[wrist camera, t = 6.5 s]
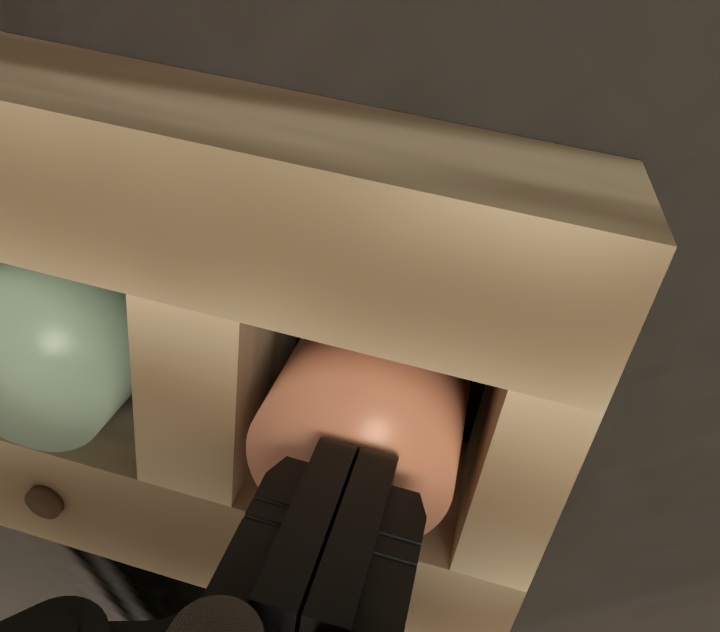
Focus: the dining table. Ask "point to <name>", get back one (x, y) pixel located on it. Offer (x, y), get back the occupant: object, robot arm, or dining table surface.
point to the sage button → (59, 359)
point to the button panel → (315, 300)
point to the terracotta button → (365, 418)
